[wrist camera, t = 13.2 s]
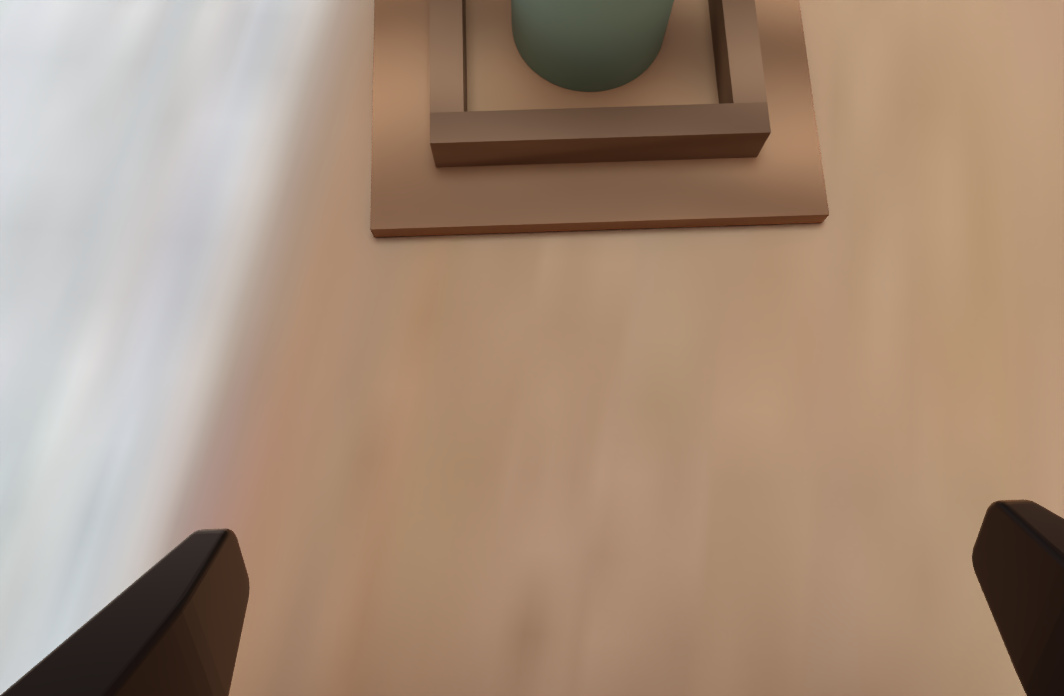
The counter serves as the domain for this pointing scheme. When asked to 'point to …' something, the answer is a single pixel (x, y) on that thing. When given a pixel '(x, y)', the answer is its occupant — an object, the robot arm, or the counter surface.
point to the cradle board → (591, 126)
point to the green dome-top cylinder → (589, 39)
